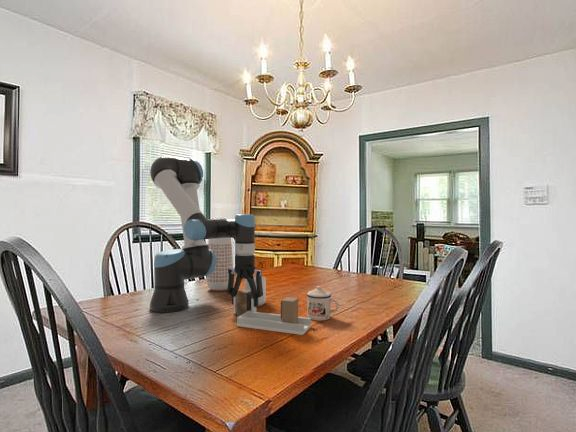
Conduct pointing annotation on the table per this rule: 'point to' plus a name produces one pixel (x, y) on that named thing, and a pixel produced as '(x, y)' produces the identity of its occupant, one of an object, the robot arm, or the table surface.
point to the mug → (261, 299)
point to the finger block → (243, 301)
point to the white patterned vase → (220, 263)
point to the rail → (277, 319)
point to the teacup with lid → (319, 304)
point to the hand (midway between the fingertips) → (244, 313)
